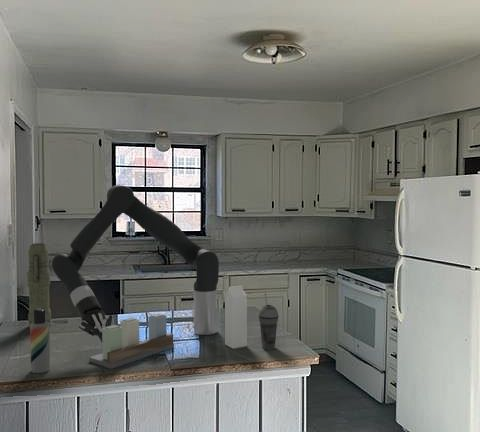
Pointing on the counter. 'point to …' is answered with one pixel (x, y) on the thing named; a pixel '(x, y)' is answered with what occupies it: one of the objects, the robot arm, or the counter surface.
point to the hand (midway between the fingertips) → (107, 343)
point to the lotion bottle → (40, 342)
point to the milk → (236, 317)
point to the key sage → (111, 339)
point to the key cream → (130, 331)
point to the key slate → (157, 326)
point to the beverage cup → (268, 325)
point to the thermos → (38, 280)
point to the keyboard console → (134, 352)
